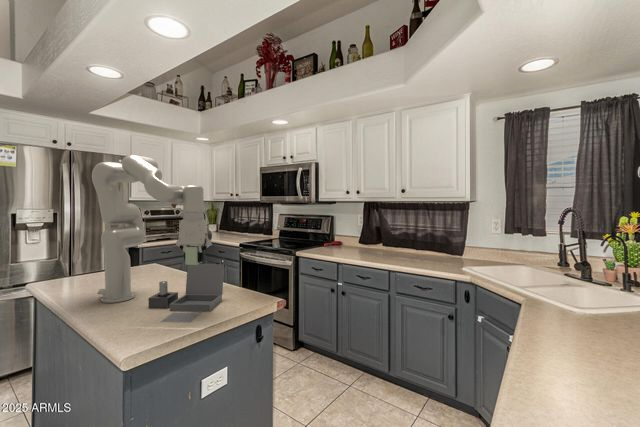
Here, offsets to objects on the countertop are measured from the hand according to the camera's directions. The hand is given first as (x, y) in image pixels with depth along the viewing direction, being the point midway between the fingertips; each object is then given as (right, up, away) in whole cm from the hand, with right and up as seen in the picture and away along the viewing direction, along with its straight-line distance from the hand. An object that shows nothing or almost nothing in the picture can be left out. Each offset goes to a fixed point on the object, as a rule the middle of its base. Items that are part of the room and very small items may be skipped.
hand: (193, 261), depth 123 cm
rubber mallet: (-8, -18, +25) cm, 32 cm away
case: (0, -19, +3) cm, 19 cm away
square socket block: (-14, -19, +4) cm, 24 cm away
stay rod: (-14, -19, +4) cm, 24 cm away
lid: (0, -9, +10) cm, 14 cm away
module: (0, -1, 0) cm, 1 cm away
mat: (0, -20, -10) cm, 22 cm away
